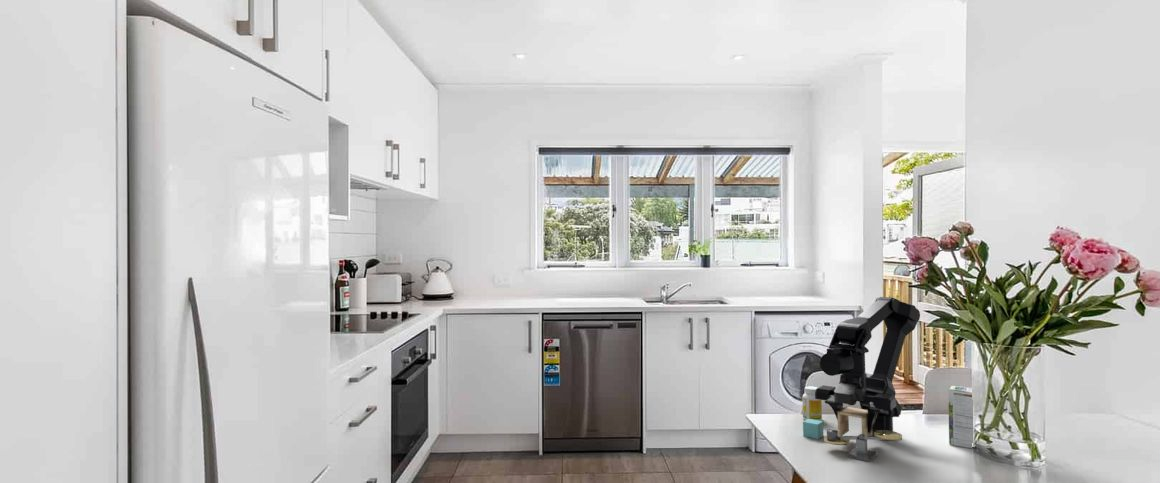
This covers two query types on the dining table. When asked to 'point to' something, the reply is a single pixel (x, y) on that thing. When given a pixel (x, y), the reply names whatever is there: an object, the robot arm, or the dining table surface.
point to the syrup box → (960, 416)
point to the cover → (854, 412)
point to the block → (813, 428)
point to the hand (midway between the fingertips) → (855, 429)
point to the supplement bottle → (811, 404)
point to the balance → (860, 442)
